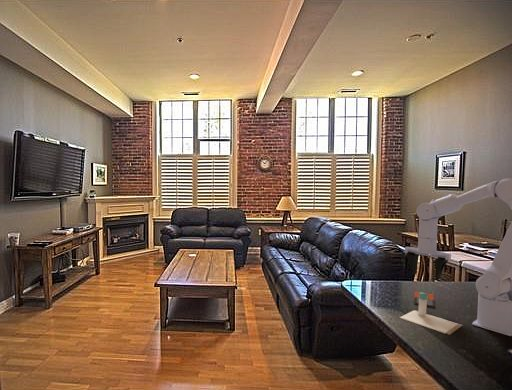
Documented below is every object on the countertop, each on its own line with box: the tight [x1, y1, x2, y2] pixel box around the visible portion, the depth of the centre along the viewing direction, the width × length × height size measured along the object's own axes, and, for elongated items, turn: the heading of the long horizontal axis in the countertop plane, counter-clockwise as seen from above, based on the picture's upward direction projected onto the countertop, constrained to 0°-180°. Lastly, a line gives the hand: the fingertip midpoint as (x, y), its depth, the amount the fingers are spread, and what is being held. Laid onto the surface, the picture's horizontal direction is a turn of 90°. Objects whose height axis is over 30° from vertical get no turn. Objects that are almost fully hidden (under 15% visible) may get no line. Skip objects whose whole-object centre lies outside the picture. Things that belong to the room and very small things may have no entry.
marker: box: [417, 291, 429, 317], centre depth 102 cm, size 2×2×7 cm
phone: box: [413, 291, 436, 309], centre depth 118 cm, size 6×1×15 cm
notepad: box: [399, 309, 463, 336], centre depth 98 cm, size 14×10×1 cm
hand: (425, 276), depth 113 cm, fingers open, 7 cm apart
